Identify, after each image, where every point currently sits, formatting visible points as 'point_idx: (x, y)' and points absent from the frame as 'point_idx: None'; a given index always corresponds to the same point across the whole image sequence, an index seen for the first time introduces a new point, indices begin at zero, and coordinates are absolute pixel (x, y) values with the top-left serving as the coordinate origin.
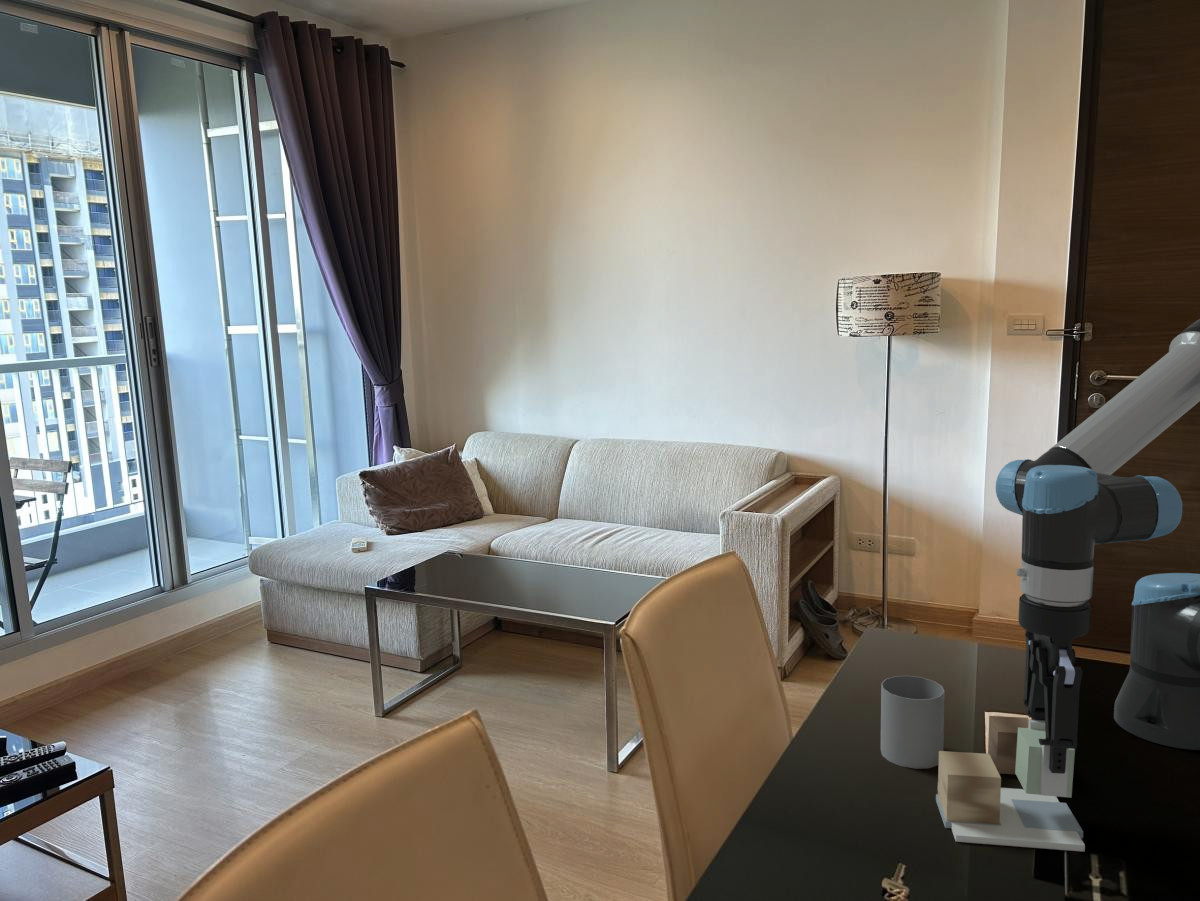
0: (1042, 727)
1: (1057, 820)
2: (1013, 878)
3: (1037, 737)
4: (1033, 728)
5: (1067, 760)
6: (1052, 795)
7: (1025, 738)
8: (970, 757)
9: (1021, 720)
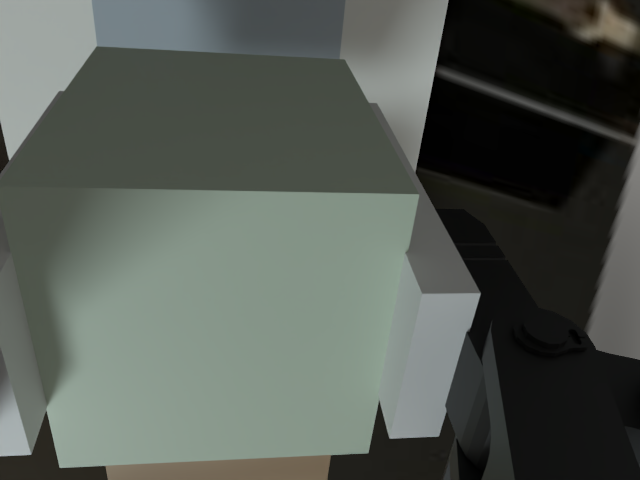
0: (22, 345)
1: (262, 46)
2: (551, 259)
3: (214, 391)
4: (42, 389)
5: (434, 217)
6: None
7: (247, 453)
8: (157, 466)
9: None
